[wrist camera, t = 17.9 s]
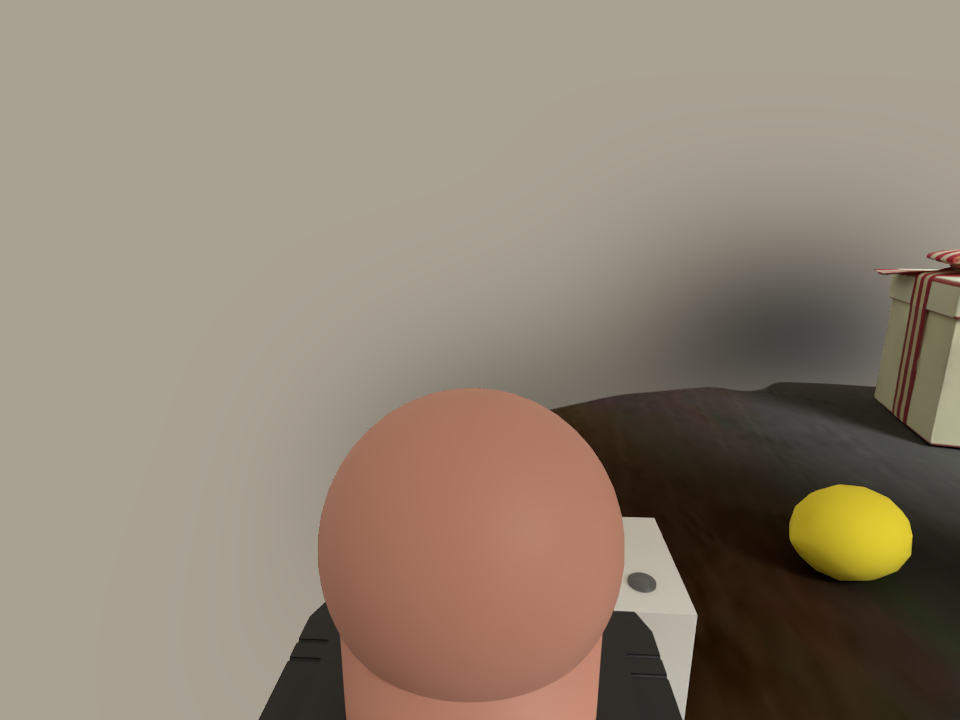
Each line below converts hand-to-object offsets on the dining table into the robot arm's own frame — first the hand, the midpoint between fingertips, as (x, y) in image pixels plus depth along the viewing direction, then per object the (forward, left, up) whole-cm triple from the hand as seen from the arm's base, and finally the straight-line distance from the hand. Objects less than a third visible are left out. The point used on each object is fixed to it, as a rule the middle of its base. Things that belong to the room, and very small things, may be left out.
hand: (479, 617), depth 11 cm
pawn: (+3, +1, -6) cm, 6 cm away
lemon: (-24, +15, -13) cm, 31 cm away
